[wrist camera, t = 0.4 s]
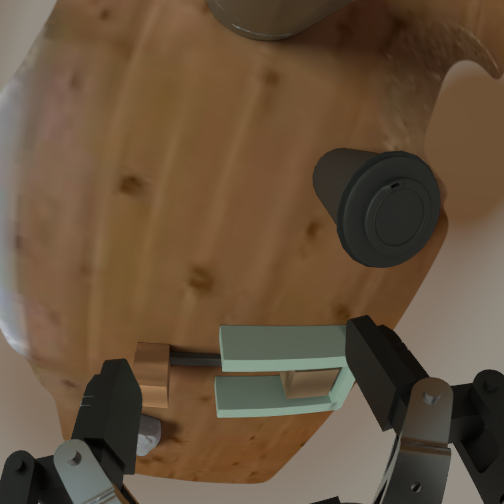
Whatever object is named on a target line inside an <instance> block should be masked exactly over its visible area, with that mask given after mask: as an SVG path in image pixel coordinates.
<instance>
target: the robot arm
mask: <svg viewBox="0 0 504 504" xmlns="http://www.w3.org/2000/svg"><path fill="white" fill-rule="evenodd" d="M353 1H354V0H207V2H208V5H209V8H210V10H211V11H212V13H213V15H214V16H215V18H217V19H218V20H219V21H220V22H221V23H222V25H224V26H225V27H227V28H228V29H230V30H231V31H233V32H235V33H237V34H239V35H242V36H244V37H247V38H251V39H256V40H267V41H271V40H281V39H285V38H288V37H291V36H294V35H296V34H298V33H300V32H302V31H303V30H305V29H306V28H308V27H310V26H311V25H313V24H314V23H316V22H318V21H320V20H321V19H323V18H325V17H326V16H328V15H330V14H331V13H333V12H335V11H337V10H338V9H340V8H342V7H344V6H345V5H347V4H349V3H351V2H353ZM345 357H346V362H347V365H348V367H349V369H350V371H351V372H352V374H353V376H354V378H355V380H356V382H357V384H358V385H359V387H360V389H361V391H362V393H363V395H364V397H365V398H366V400H367V402H368V404H369V406H370V408H371V410H372V412H373V414H374V415H375V417H376V419H377V421H378V423H379V425H380V427H381V429H382V431H386V430H389V429H392V428H393V429H394V431H395V433H396V436H395V439H394V443H393V446H392V449H391V453H390V456H389V459H388V462H387V465H386V468H385V471H384V474H383V477H382V480H381V483H380V485H379V488H378V490H377V492H376V494H375V497H374V499H373V502H372V504H441V503H442V499H443V495H444V490H445V486H446V481H447V476H448V471H449V466H450V460H451V449H450V448H448V444H449V443H453V444H454V446H455V448H456V450H457V451H458V453H459V455H460V457H461V459H462V461H463V463H464V465H465V467H466V468H467V470H468V472H469V474H470V476H471V478H472V480H473V482H474V484H475V486H476V488H477V490H478V492H479V494H480V496H481V498H482V500H483V502H484V504H504V375H503V374H502V373H500V372H498V371H496V370H490V369H489V370H483V371H481V372H479V373H478V374H477V375H476V377H475V379H474V381H473V383H469V384H462V385H456V386H450V385H449V384H448V383H447V382H445V381H444V380H441V379H439V378H434V377H429V375H428V374H427V373H426V371H425V370H424V369H423V367H422V366H421V365H420V363H419V362H418V361H417V359H416V358H415V357H414V356H413V355H412V353H411V352H410V351H409V350H408V349H407V347H406V345H405V344H404V343H402V341H401V339H400V338H399V336H398V335H397V334H396V333H395V332H394V331H393V330H391V329H390V328H388V327H386V326H384V325H380V326H376V324H375V323H374V322H373V320H372V319H371V318H370V316H368V315H365V316H361V317H357V318H353V319H349V320H348V321H347V324H346V342H345ZM142 403H143V398H142V392H141V388H140V386H139V384H138V382H137V380H136V378H135V376H134V374H133V372H132V370H131V368H130V366H129V364H128V362H127V360H126V359H124V358H123V359H113V360H105V361H104V363H103V366H102V370H101V373H100V374H98V375H94V377H93V378H92V379H91V380H90V382H89V383H88V384H87V387H86V390H85V393H84V398H83V399H82V402H81V407H80V409H79V412H78V416H77V419H76V423H75V426H74V430H73V433H72V437H71V440H67V441H65V442H63V443H62V444H61V445H59V447H58V448H57V449H56V451H55V453H54V455H51V456H47V457H42V458H38V459H35V458H34V457H33V456H32V455H31V454H29V453H28V452H26V451H23V450H20V451H16V452H14V453H12V454H11V455H10V456H9V457H8V458H7V460H6V462H5V465H4V469H3V473H2V476H1V480H0V504H38V503H40V504H139V503H138V502H137V500H136V499H135V498H134V497H133V495H132V494H131V493H130V491H129V490H128V489H127V487H126V486H125V485H124V484H123V474H131V475H134V473H135V462H136V452H137V443H138V434H139V426H140V418H141V410H142ZM311 504H360V503H340V501H339V498H338V496H337V497H333V498H330V499H327V500H323V501H319V502H315V503H311Z"/></svg>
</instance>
